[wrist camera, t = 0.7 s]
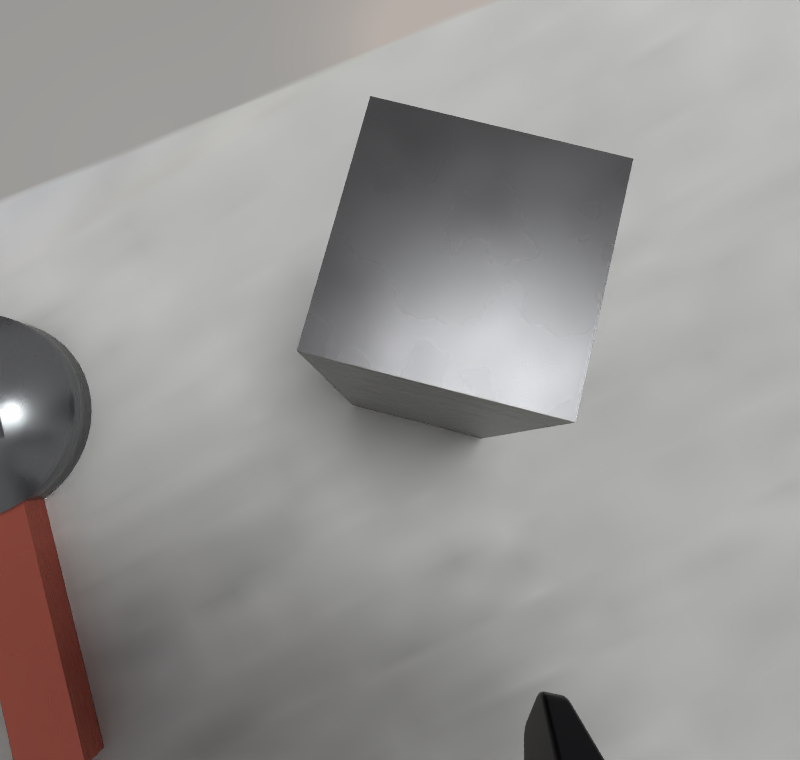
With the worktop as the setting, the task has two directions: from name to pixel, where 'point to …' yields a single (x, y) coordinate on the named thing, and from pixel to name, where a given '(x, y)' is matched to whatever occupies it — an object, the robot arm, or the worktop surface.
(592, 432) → the worktop surface
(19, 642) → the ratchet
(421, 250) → the brushed metal block
